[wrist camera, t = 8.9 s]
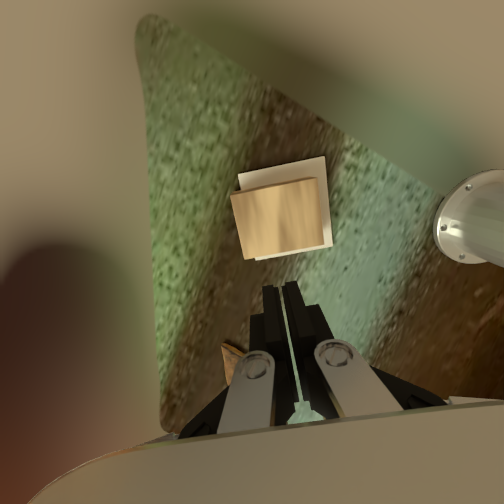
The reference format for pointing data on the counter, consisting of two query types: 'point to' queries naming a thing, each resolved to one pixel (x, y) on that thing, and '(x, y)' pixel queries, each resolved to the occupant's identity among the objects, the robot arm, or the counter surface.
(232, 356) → the shard
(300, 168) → the plastic mat
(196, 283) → the counter surface
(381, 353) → the counter surface
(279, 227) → the wood block
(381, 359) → the counter surface
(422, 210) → the counter surface
